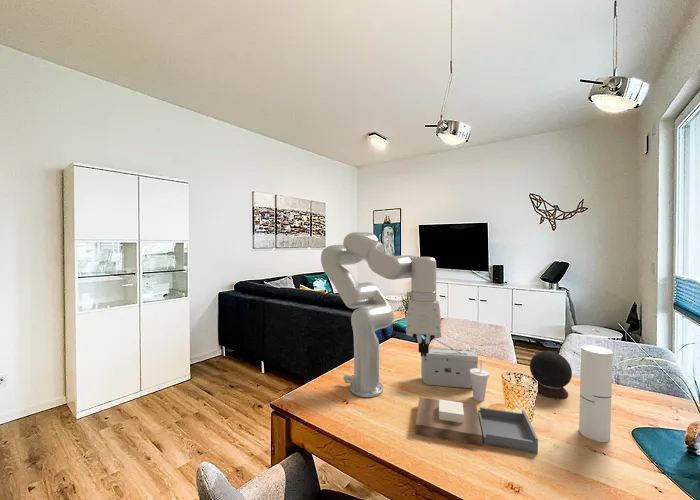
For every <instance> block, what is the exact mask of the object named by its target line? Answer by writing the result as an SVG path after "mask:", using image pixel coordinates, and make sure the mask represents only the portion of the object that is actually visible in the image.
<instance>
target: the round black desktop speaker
mask: <svg viewBox="0 0 700 500" xmlns="http://www.w3.org/2000/svg"><path fill="white" fill-rule="evenodd" d="M529 371H530V374H531V375H532V377H533V379H534V378H535V379H536V380H537V381H538V393H537V395H540V396H543V397H545V398H548V399H551V400H552V399H553V400H566V399H567V398H568V397H569V392H568V391H567V389H566V388H565V387H566V386H567V385H568V384H569V383H570V382H571V380H572V377H573V370H572V366H571V365H570V363H569V361H568V360H567V359H566V358H565V357H564V356H563V355H562V354H559V353H557V352H555V351H551V350H542V351H539V352H537V353H535V354H534V355H533V356H532V357H531V359H530V361H529ZM535 379H534V380H535ZM536 380H535V381H536ZM537 381H536V382H537Z"/></svg>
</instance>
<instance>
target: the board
mask: <svg viewBox="0 0 700 500" xmlns="http://www.w3.org/2000/svg"><path fill="white" fill-rule="evenodd" d="M462 403H463V402H462ZM463 411H464V423H459V422H453V421H447V420H441V419H439V399H435V398H429V397H428V398H427V397H421V396H420V397H419V399H418V405H417V412H416V417H415V418H416V420H415V435H417V436H424V437H428V438H429V437H430V438H434V439H435V438H436V439H439V440H440V439H441V440H445V441H450V442H452V441H453V442H457V443H461V444H462V443H464V444H468V445H475V446H479V447H480V446H481V447H483V438H482V431H481V426H480V421H479V417H478V409H477V405H476V404H472V403H470V404H469V403H463Z"/></svg>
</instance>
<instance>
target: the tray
mask: <svg viewBox="0 0 700 500" xmlns="http://www.w3.org/2000/svg"><path fill="white" fill-rule="evenodd" d="M477 412H478V417H479V421H480V426H481V431H482V444H483V445H484V446H490V447H491V446H492V447H498V448H503V449H509V450H515V451H520V452H526V453H531V454H536V455H537V454H538V453H539V451H538V450H539V449H538V448H539V438H538V436H537V434H536V432H535V430H534V428H533V426H532V424H531V422H530V421H531V420H530V419H529V418H528V416H527V414H526V411H525V410H524V409H522V410H521V412H516V411H508V410H501V409H495V408H487V407H479V409H477Z"/></svg>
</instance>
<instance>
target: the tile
mask: <svg viewBox="0 0 700 500" xmlns="http://www.w3.org/2000/svg"><path fill="white" fill-rule="evenodd" d="M438 400H439V419H441V420H447V421H453V422H459V423H464V411H463V402H460V401H454V400H448V399H447V400H445V399H438Z"/></svg>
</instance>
